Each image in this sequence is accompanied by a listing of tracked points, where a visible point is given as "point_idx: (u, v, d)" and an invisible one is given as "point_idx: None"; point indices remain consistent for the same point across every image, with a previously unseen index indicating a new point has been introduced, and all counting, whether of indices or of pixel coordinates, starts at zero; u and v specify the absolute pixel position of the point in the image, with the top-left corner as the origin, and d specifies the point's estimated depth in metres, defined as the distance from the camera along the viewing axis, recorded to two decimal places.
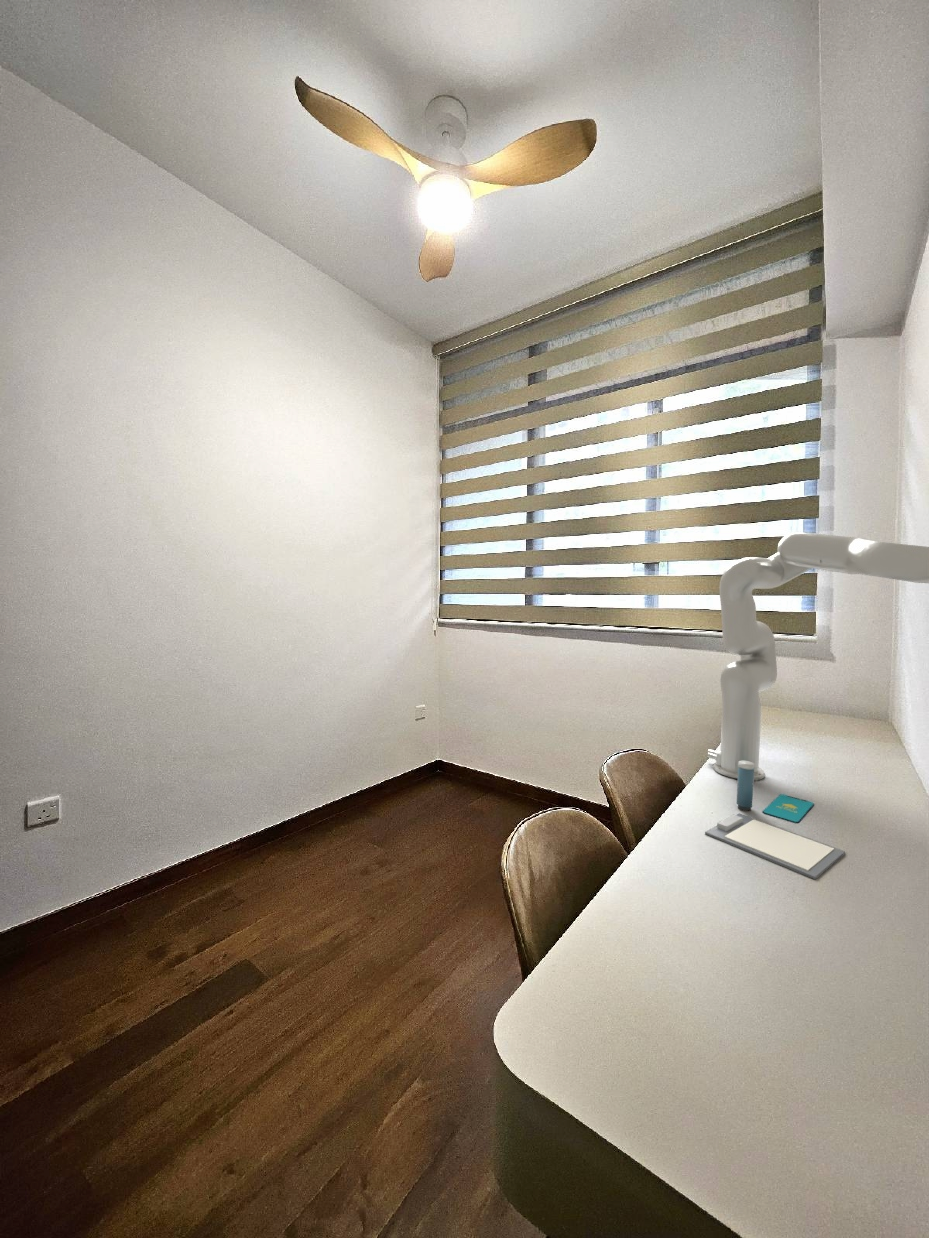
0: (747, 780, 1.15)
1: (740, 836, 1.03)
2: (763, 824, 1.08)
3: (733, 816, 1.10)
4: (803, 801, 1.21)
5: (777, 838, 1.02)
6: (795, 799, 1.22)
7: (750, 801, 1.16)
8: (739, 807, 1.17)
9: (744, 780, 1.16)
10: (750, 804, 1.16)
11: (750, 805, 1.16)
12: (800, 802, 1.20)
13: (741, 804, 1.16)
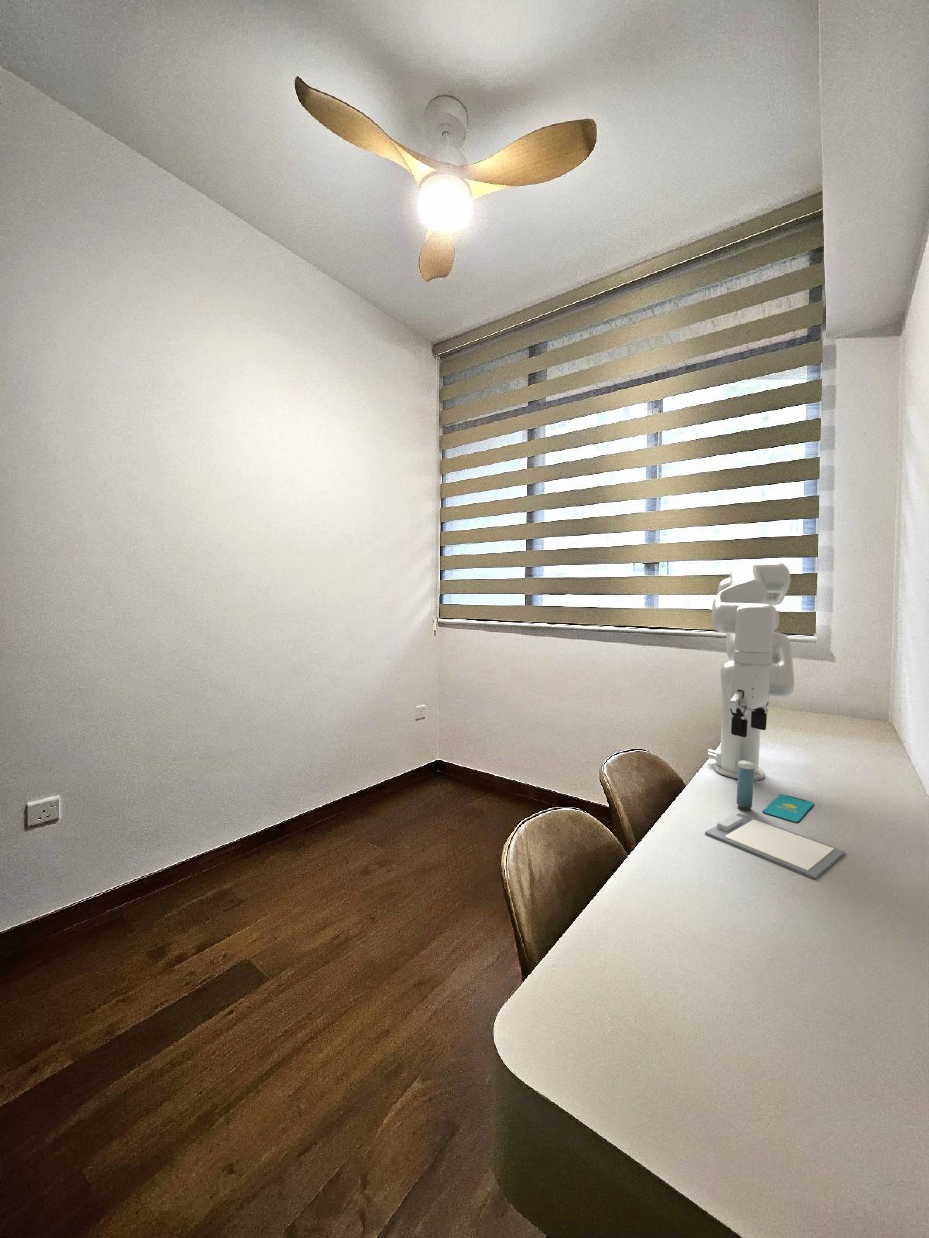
0: (747, 780, 1.15)
1: (740, 836, 1.03)
2: (763, 824, 1.08)
3: (733, 816, 1.10)
4: (804, 801, 1.21)
5: (777, 838, 1.02)
6: (795, 799, 1.22)
7: (750, 801, 1.16)
8: (739, 807, 1.17)
9: (744, 780, 1.16)
10: (750, 804, 1.16)
11: (750, 805, 1.16)
12: (800, 802, 1.20)
13: (741, 804, 1.16)
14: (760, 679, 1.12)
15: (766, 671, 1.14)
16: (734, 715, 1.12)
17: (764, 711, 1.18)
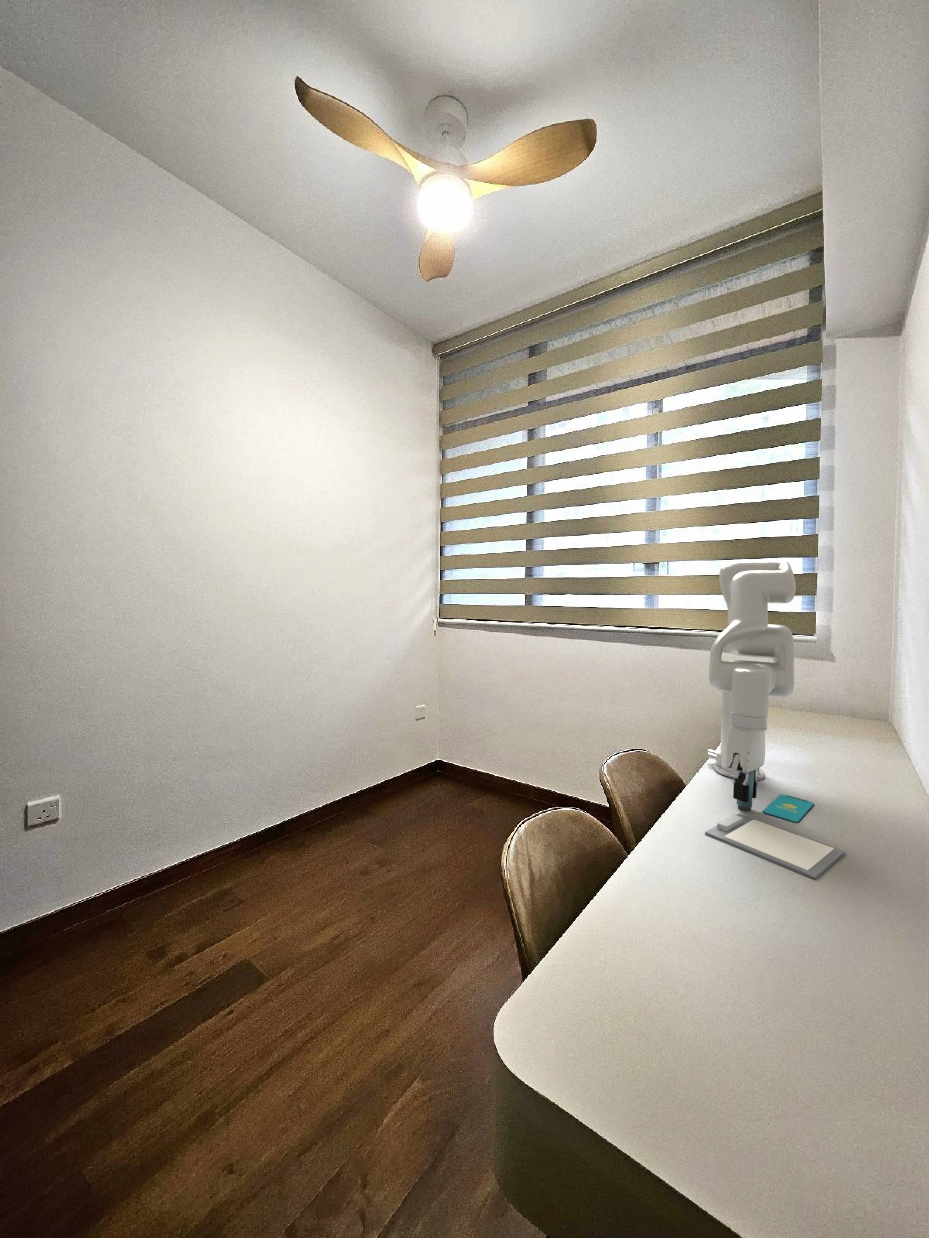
0: None
1: (740, 836, 1.03)
2: (763, 824, 1.08)
3: (733, 816, 1.10)
4: (804, 801, 1.21)
5: (777, 838, 1.02)
6: (796, 799, 1.22)
7: (750, 801, 1.16)
8: (739, 807, 1.17)
9: None
10: (750, 804, 1.16)
11: (750, 805, 1.16)
12: (800, 802, 1.20)
13: (741, 804, 1.16)
14: (756, 743, 1.14)
15: (762, 733, 1.15)
16: (736, 781, 1.15)
17: (754, 779, 1.17)
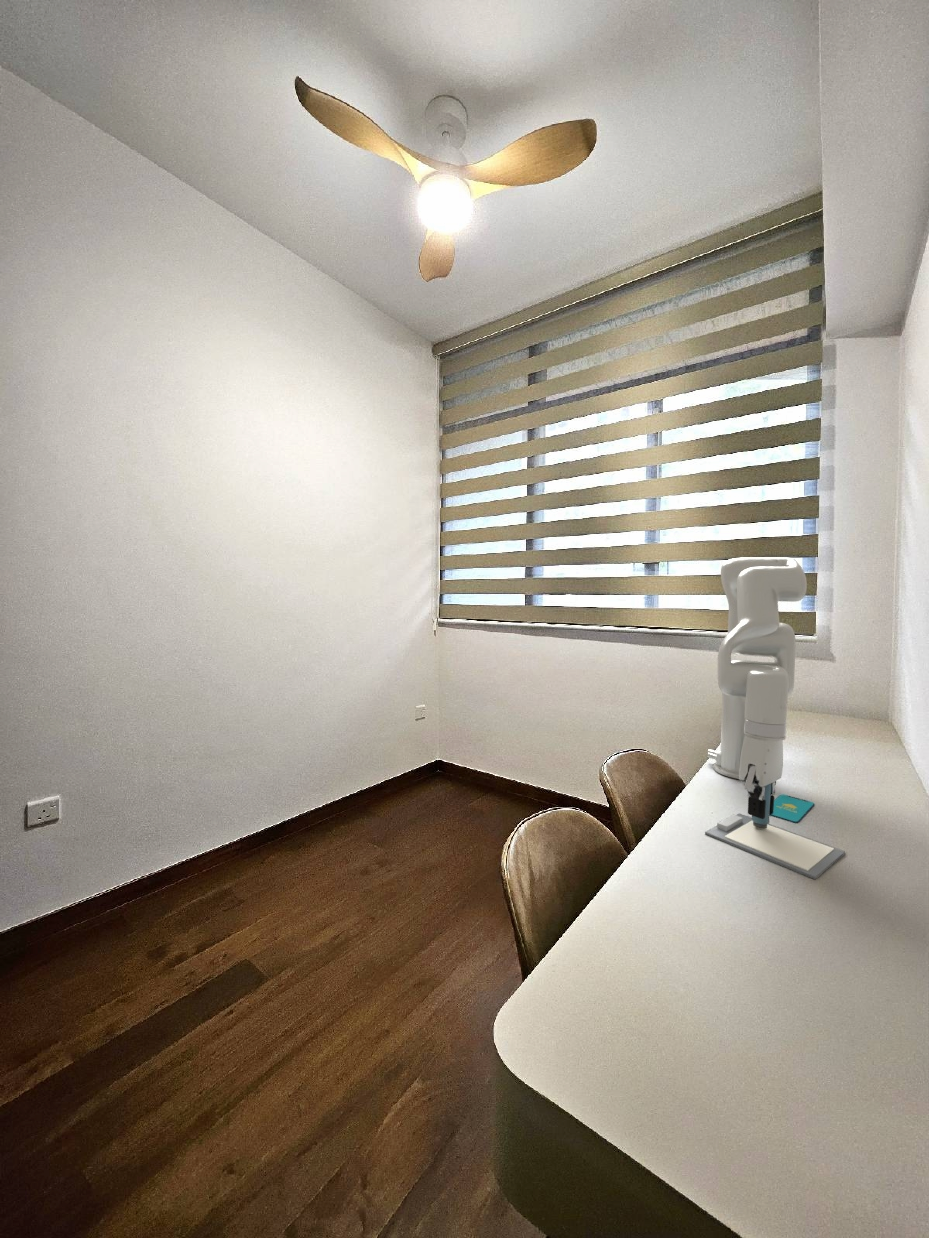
0: None
1: (740, 836, 1.03)
2: None
3: (733, 816, 1.10)
4: (804, 801, 1.21)
5: (777, 838, 1.02)
6: (796, 799, 1.22)
7: (767, 817, 1.05)
8: (754, 824, 1.06)
9: None
10: (767, 821, 1.05)
11: (767, 822, 1.05)
12: (800, 802, 1.20)
13: (756, 820, 1.05)
14: (773, 753, 1.03)
15: (780, 743, 1.04)
16: (751, 795, 1.04)
17: (771, 793, 1.06)
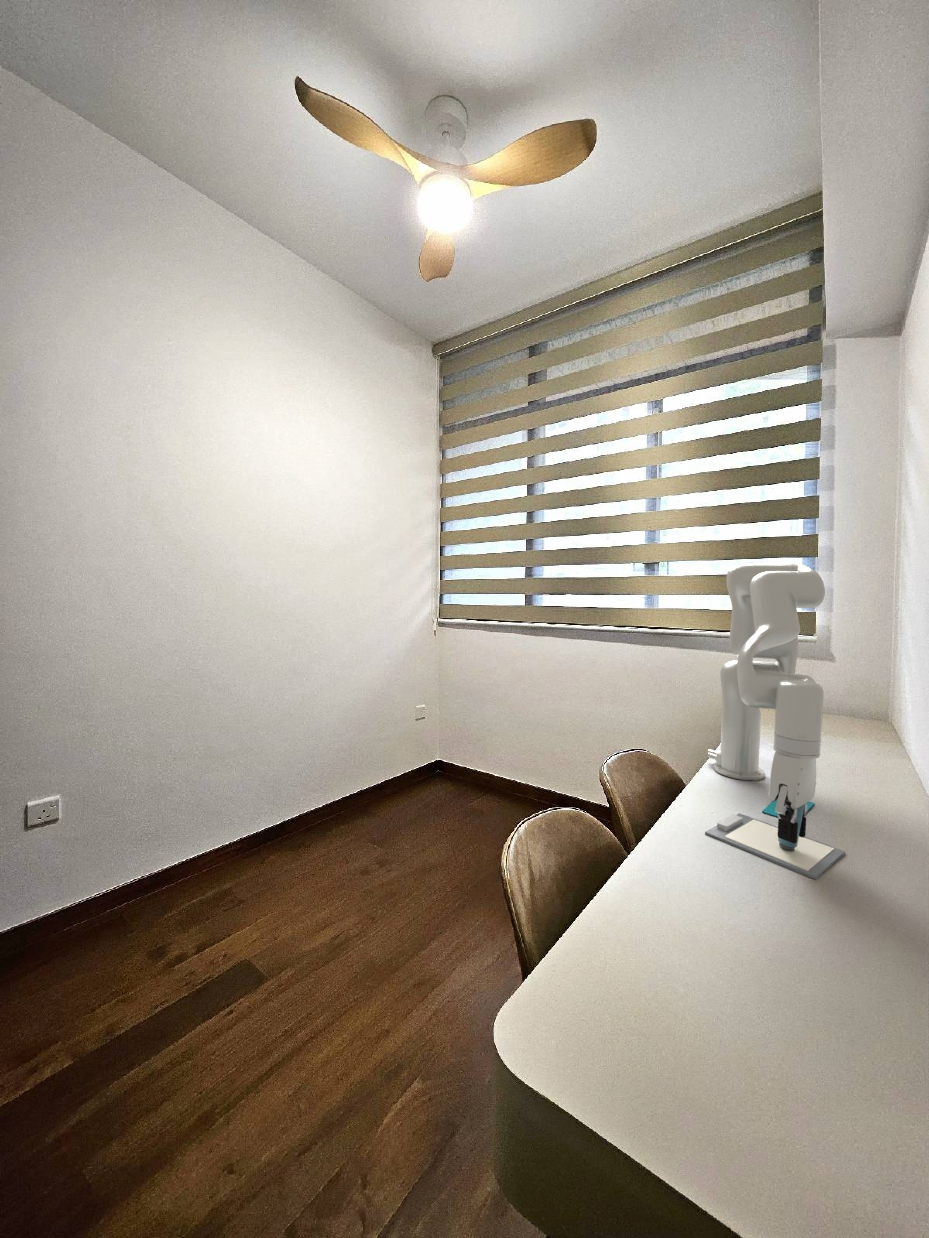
0: None
1: (740, 836, 1.03)
2: (763, 824, 1.08)
3: (733, 816, 1.10)
4: None
5: (777, 838, 1.02)
6: None
7: None
8: (781, 845, 0.98)
9: None
10: (795, 843, 0.97)
11: (795, 845, 0.97)
12: None
13: (784, 842, 0.97)
14: (807, 772, 0.94)
15: (813, 760, 0.96)
16: (782, 817, 0.95)
17: (803, 814, 0.97)
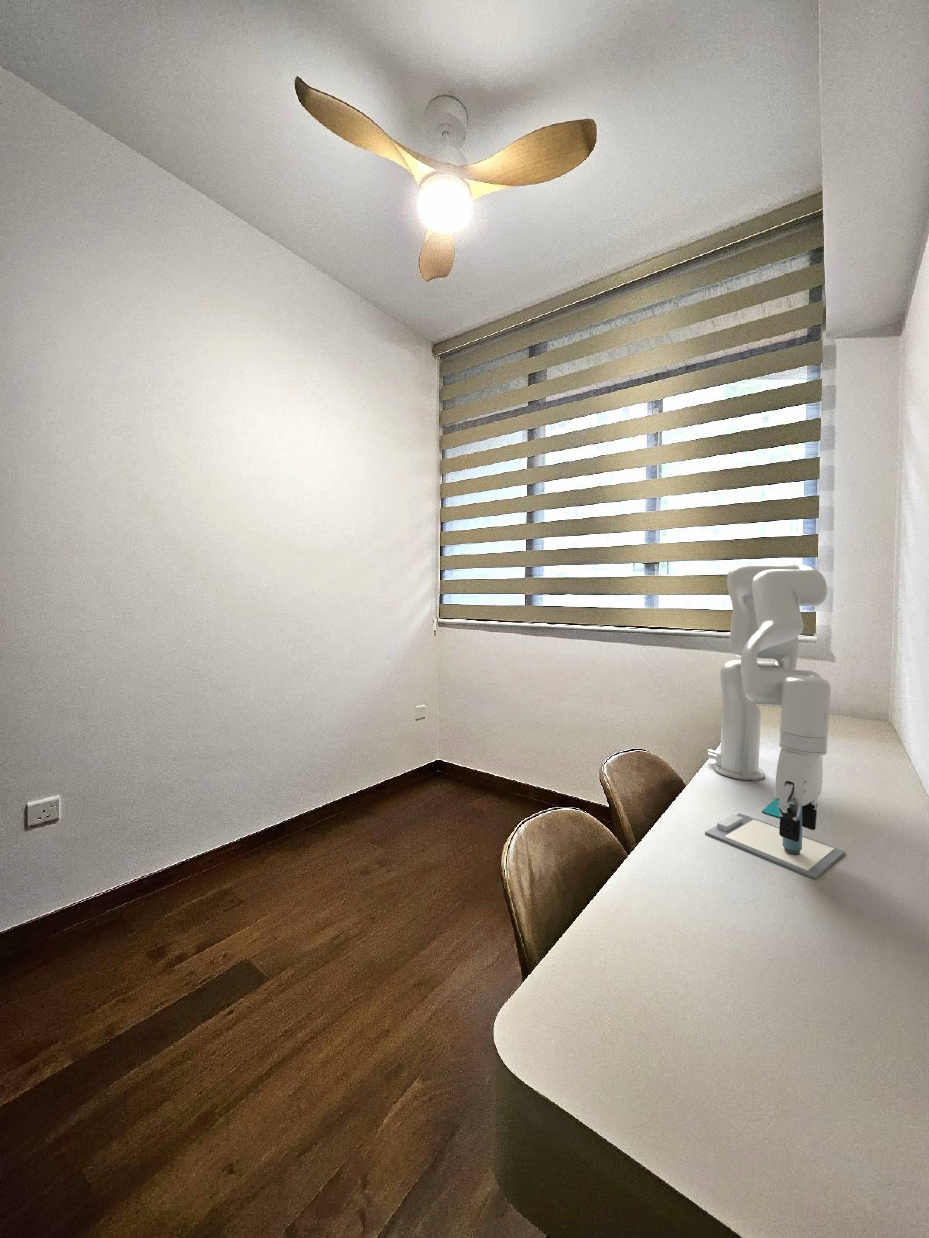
0: None
1: (740, 836, 1.03)
2: (763, 824, 1.08)
3: (733, 816, 1.10)
4: None
5: (777, 838, 1.02)
6: None
7: (800, 842, 0.95)
8: (786, 850, 0.97)
9: None
10: (800, 846, 0.95)
11: (800, 847, 0.95)
12: None
13: (788, 846, 0.96)
14: (813, 769, 0.92)
15: (820, 757, 0.94)
16: (784, 815, 0.93)
17: (813, 807, 0.97)
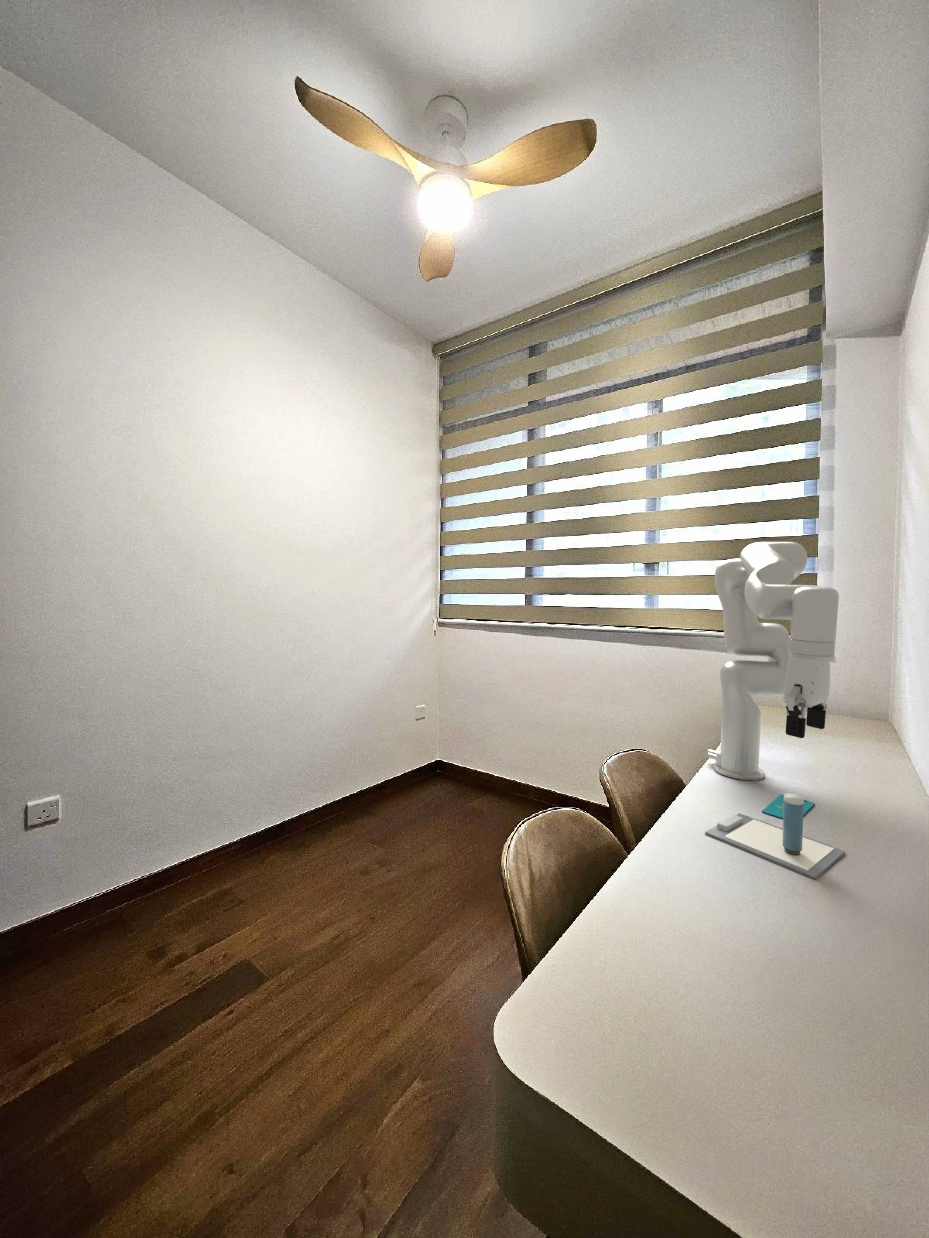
0: (795, 818, 0.95)
1: (740, 836, 1.03)
2: (763, 824, 1.08)
3: (733, 816, 1.10)
4: (804, 801, 1.21)
5: (777, 838, 1.02)
6: None
7: (800, 843, 0.95)
8: (786, 850, 0.97)
9: (792, 818, 0.95)
10: (800, 847, 0.95)
11: (800, 848, 0.95)
12: None
13: (788, 847, 0.96)
14: (821, 672, 0.98)
15: (827, 663, 1.00)
16: (790, 713, 0.98)
17: (823, 708, 1.04)
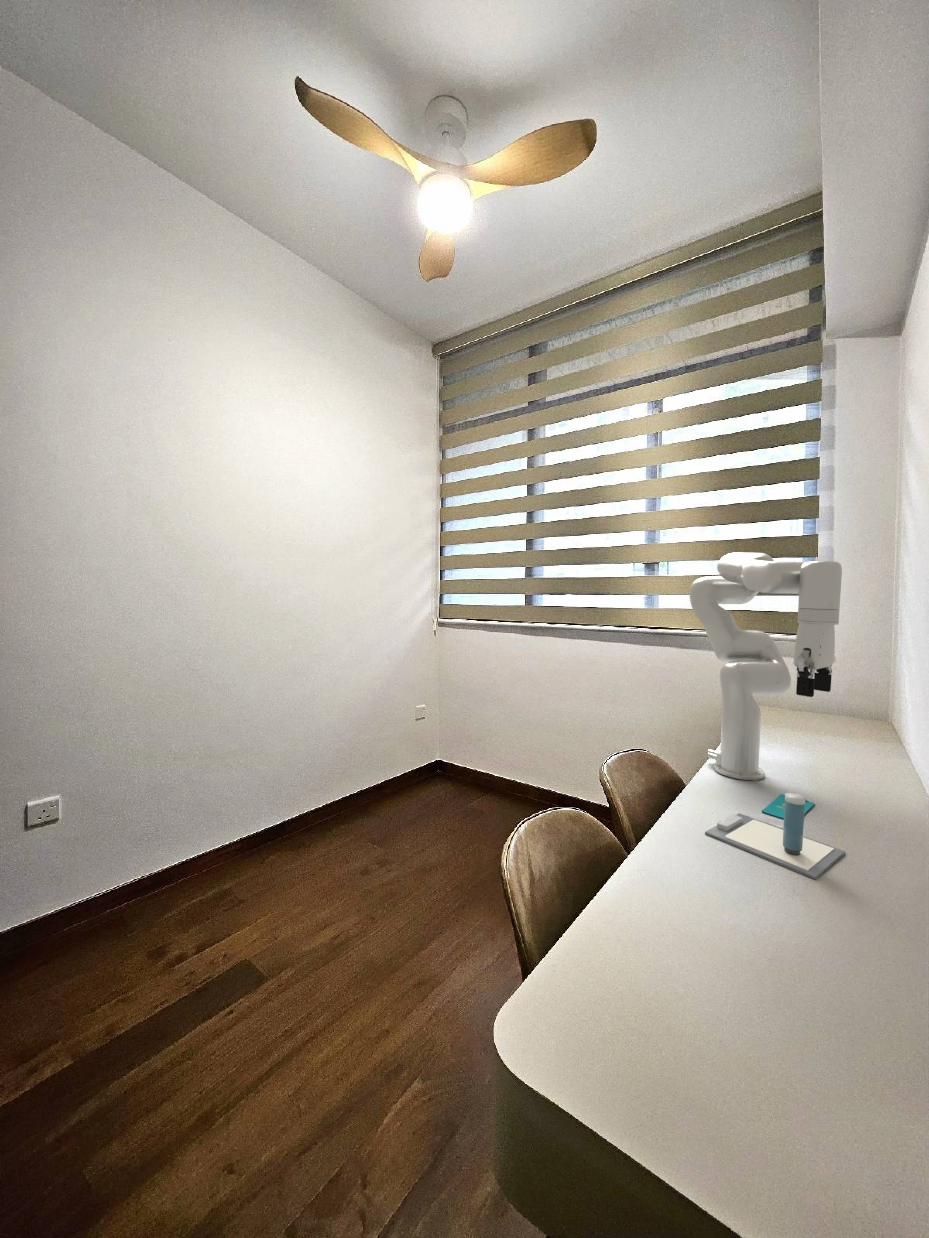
0: (796, 817, 0.95)
1: (740, 836, 1.03)
2: (763, 824, 1.08)
3: (733, 816, 1.10)
4: None
5: (777, 838, 1.02)
6: None
7: (800, 843, 0.95)
8: (786, 850, 0.97)
9: (793, 818, 0.95)
10: (800, 847, 0.95)
11: (800, 848, 0.95)
12: None
13: (789, 846, 0.96)
14: (827, 637, 1.09)
15: (833, 629, 1.10)
16: (800, 674, 1.08)
17: (828, 672, 1.14)
